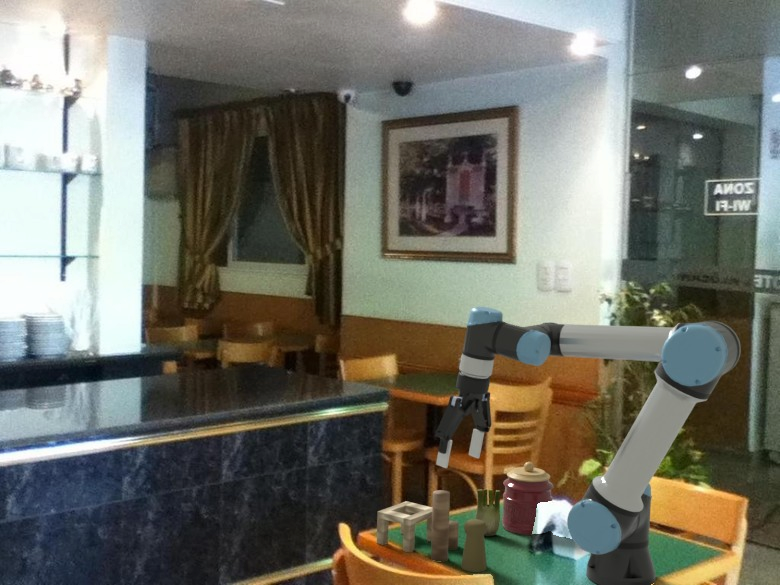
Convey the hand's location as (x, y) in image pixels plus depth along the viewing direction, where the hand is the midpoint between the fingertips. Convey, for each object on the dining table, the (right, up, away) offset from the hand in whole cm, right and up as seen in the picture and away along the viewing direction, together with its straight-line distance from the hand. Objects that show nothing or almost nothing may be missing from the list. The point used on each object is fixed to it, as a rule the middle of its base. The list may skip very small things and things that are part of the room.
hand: (458, 461), depth 222 cm
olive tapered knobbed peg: (+4, -24, -2) cm, 25 cm away
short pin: (-1, -23, +12) cm, 26 cm away
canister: (+20, -23, +28) cm, 41 cm away
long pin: (-4, -24, +3) cm, 24 cm away
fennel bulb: (+9, -23, +22) cm, 33 cm away
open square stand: (-12, -23, +14) cm, 29 cm away
